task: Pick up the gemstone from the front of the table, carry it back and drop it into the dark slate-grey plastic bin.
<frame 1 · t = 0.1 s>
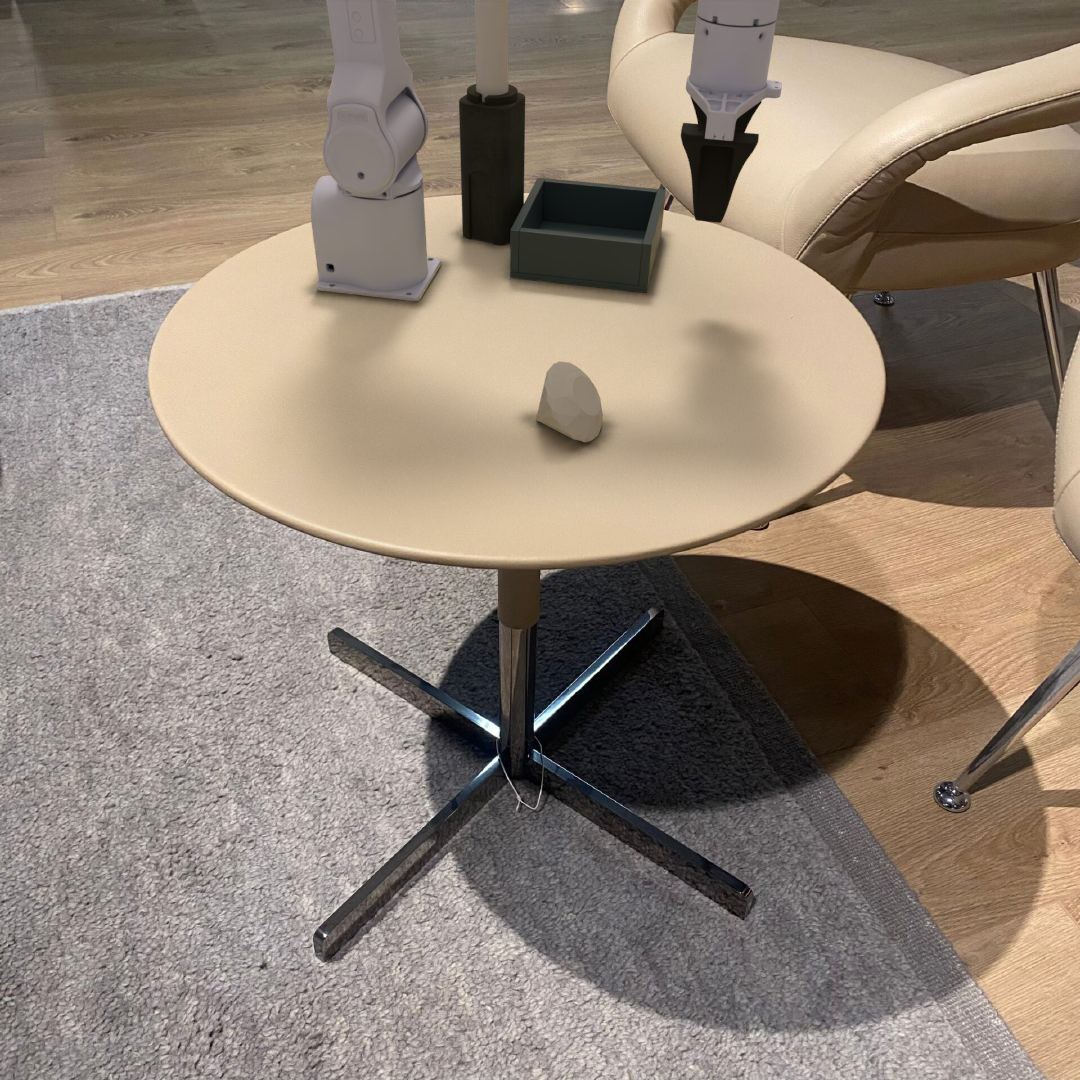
hand: (711, 200, 82), 10 cm above the table, tool pointing down, fingers open, 7 cm apart
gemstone: (568, 430, 75), on the table
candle: (493, 234, 101), on the table
bin: (588, 255, 97), on the table
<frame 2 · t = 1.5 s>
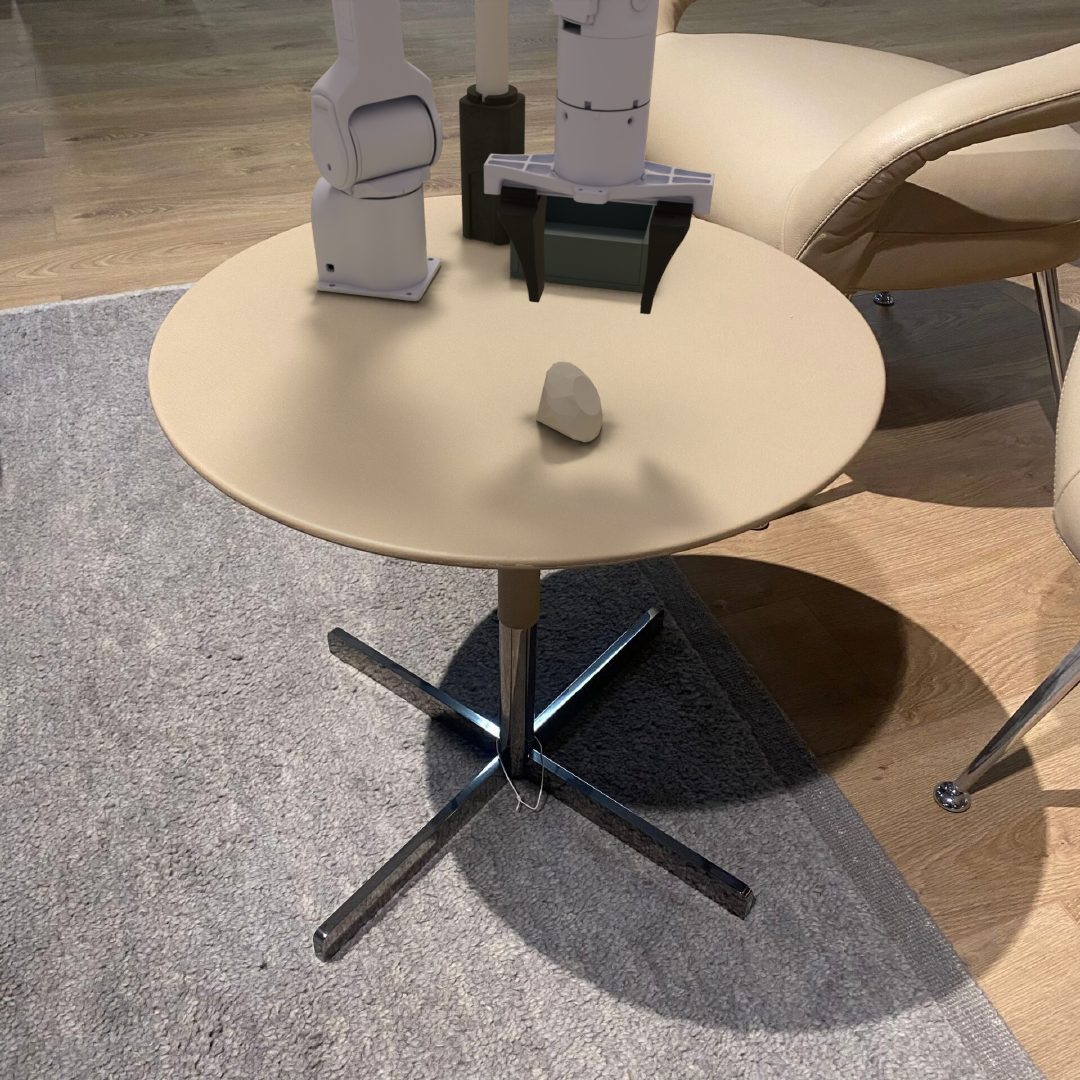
hand: (591, 301, 70), 9 cm above the table, tool pointing down, fingers open, 7 cm apart
nothing on the table moved.
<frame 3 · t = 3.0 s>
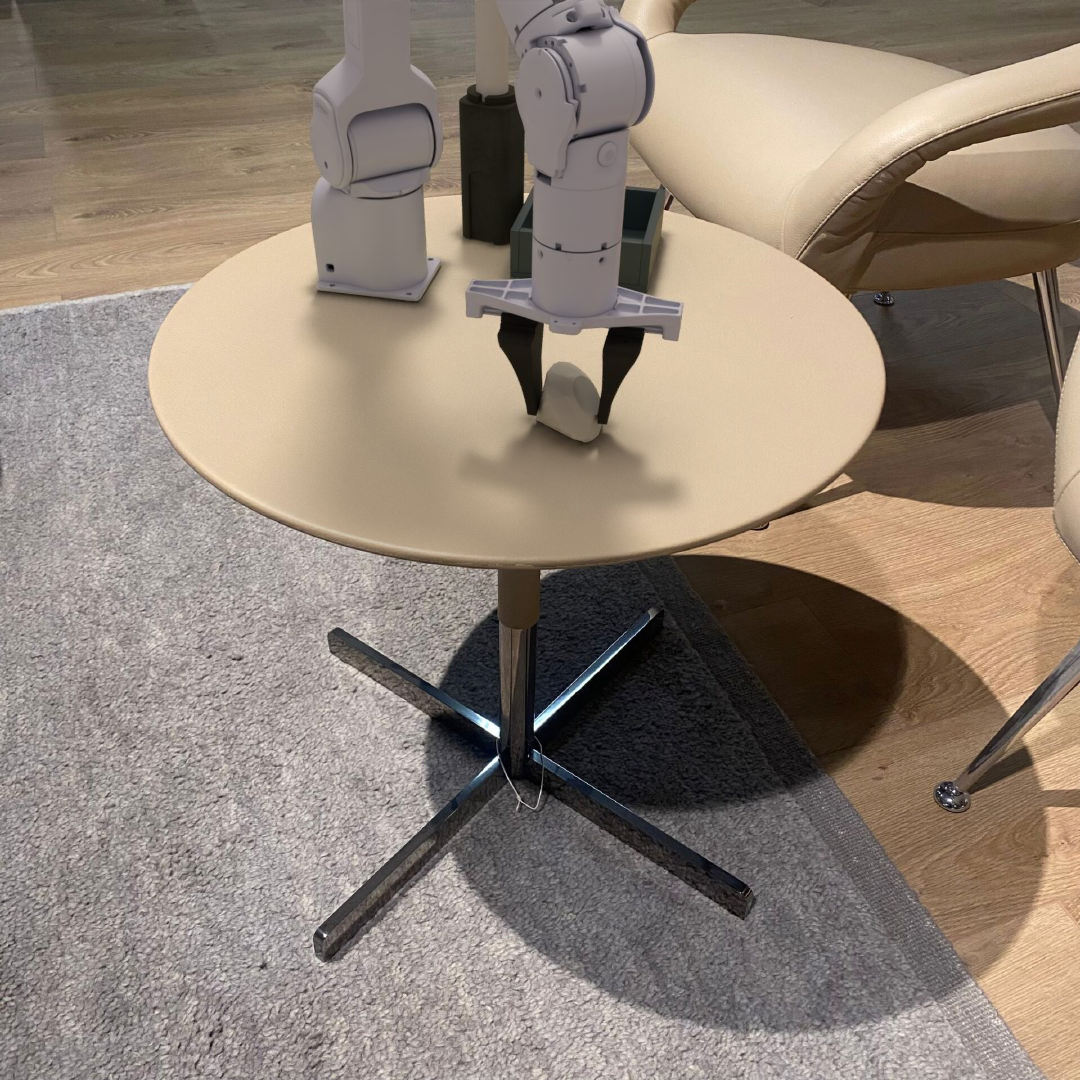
hand: (568, 412, 74), 1 cm above the table, tool pointing down, fingers closed on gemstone, 4 cm apart
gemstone: (568, 430, 75), on the table, touching gripper
everything else where it was.
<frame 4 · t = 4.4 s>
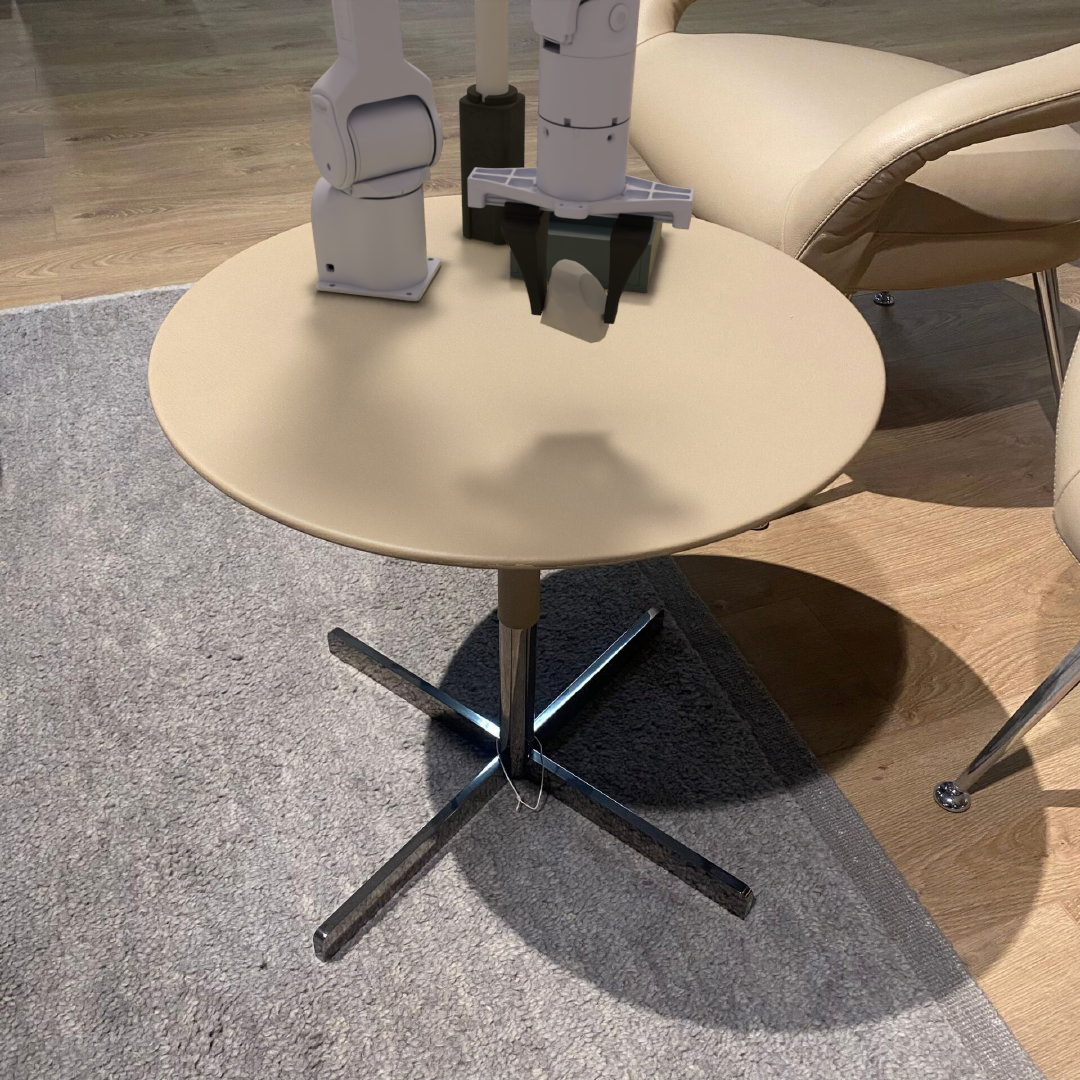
hand: (574, 312, 71), 8 cm above the table, tool pointing down, fingers closed on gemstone, 4 cm apart
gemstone: (573, 333, 72), point 7 cm above the table, touching gripper
everything else where it was.
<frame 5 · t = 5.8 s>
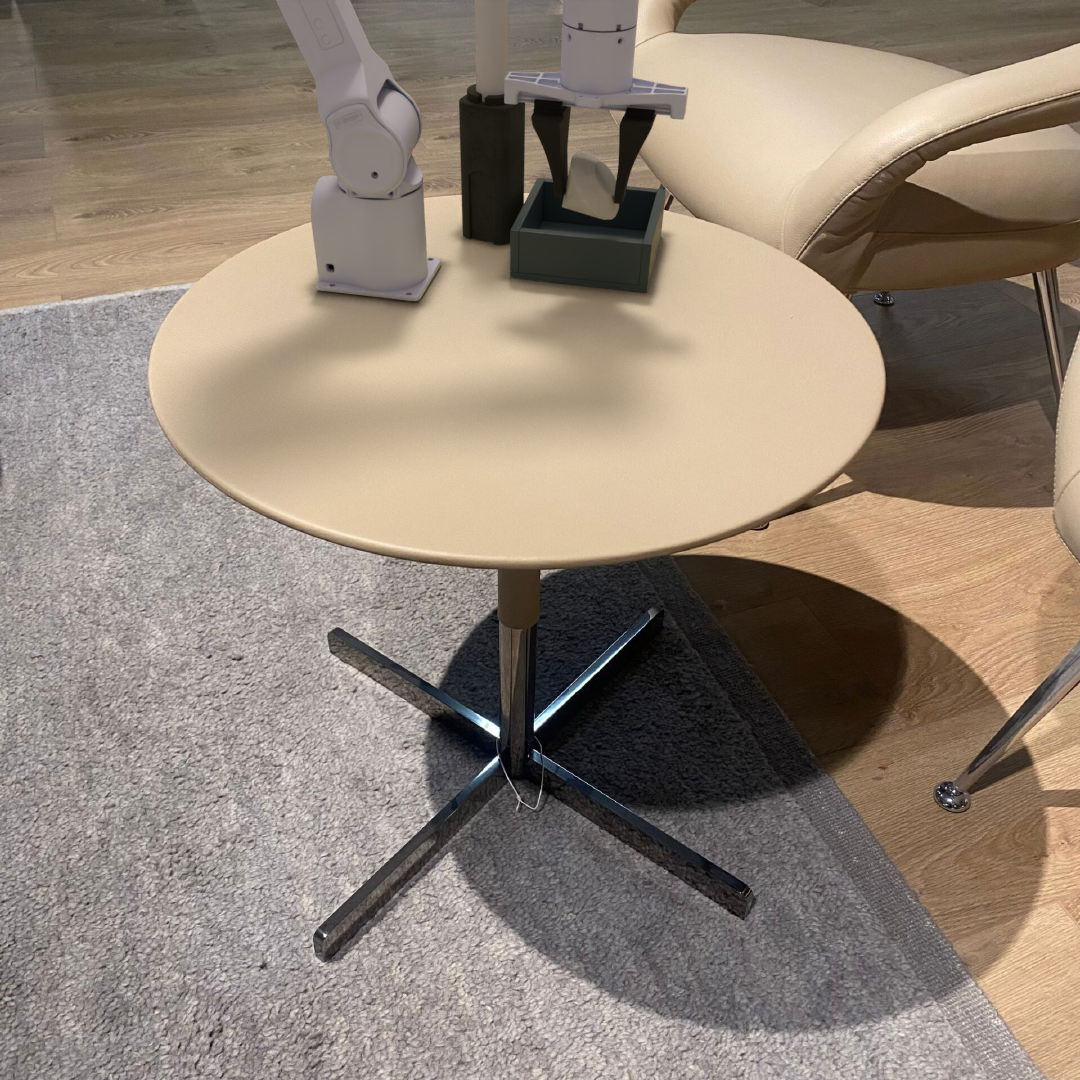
hand: (589, 196, 87), 8 cm above the table, tool pointing down, fingers closed on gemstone, 4 cm apart
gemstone: (589, 215, 88), point 7 cm above the table, touching gripper
everything else where it was.
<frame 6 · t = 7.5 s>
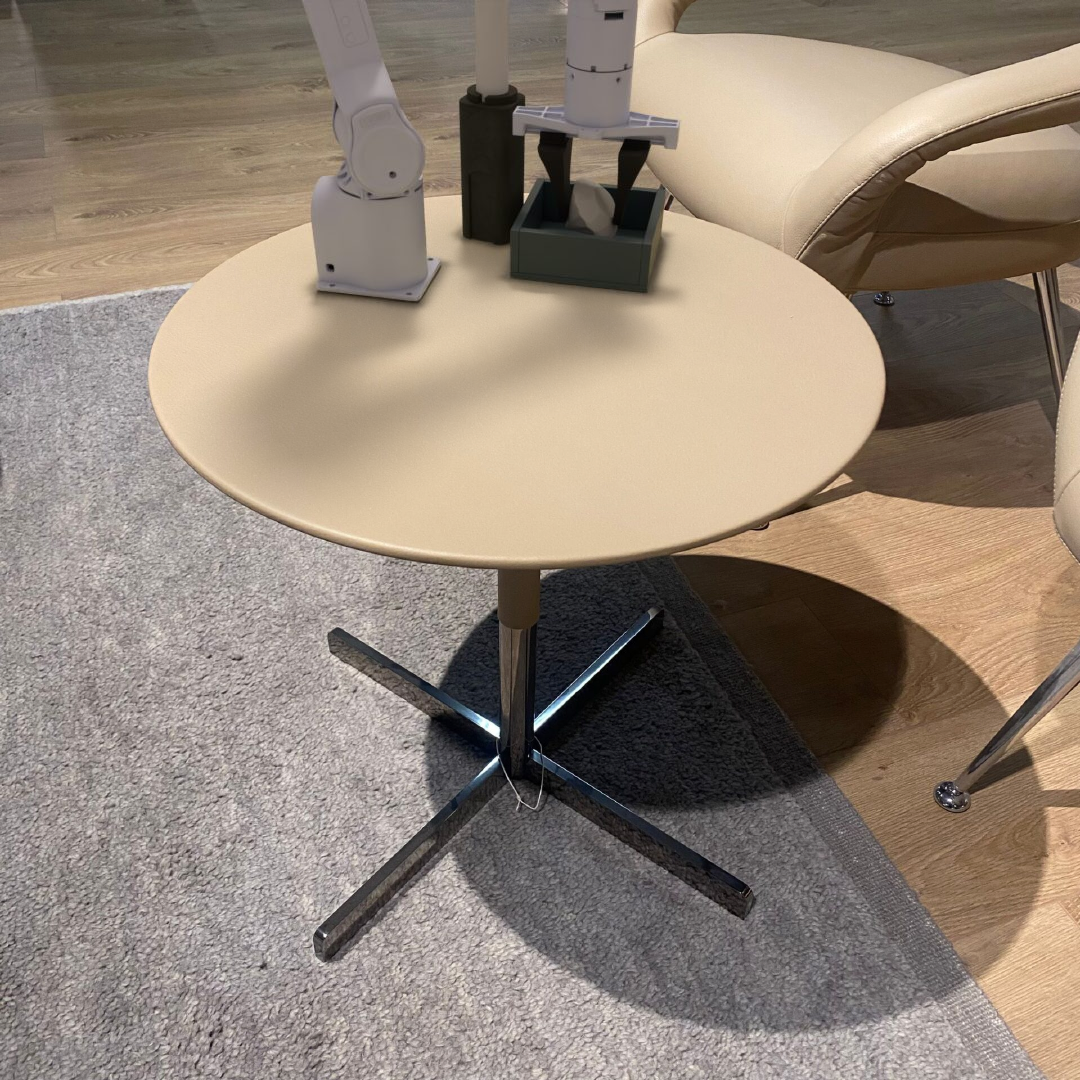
hand: (590, 218, 95), 4 cm above the table, tool pointing down, fingers closed on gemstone, 4 cm apart
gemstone: (590, 234, 96), point 2 cm above the table, touching gripper
everything else where it was.
when the fingers open (2 cm above the table, at t = 8.6 s): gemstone stays where it is, resting on bin.
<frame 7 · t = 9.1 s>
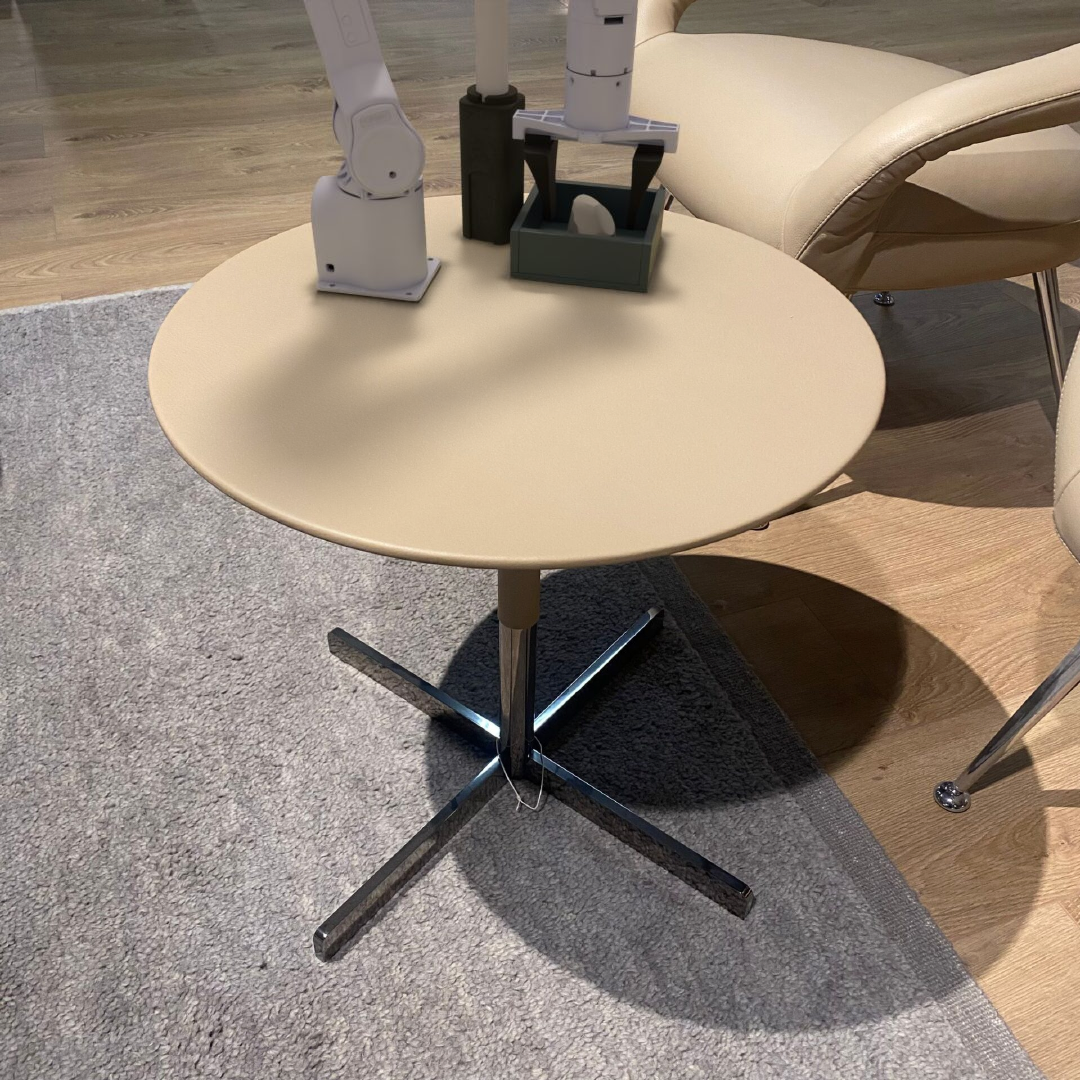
hand: (590, 221, 95), 3 cm above the table, tool pointing down, fingers open, 7 cm apart
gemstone: (589, 251, 97), resting on bin
everything else where it was.
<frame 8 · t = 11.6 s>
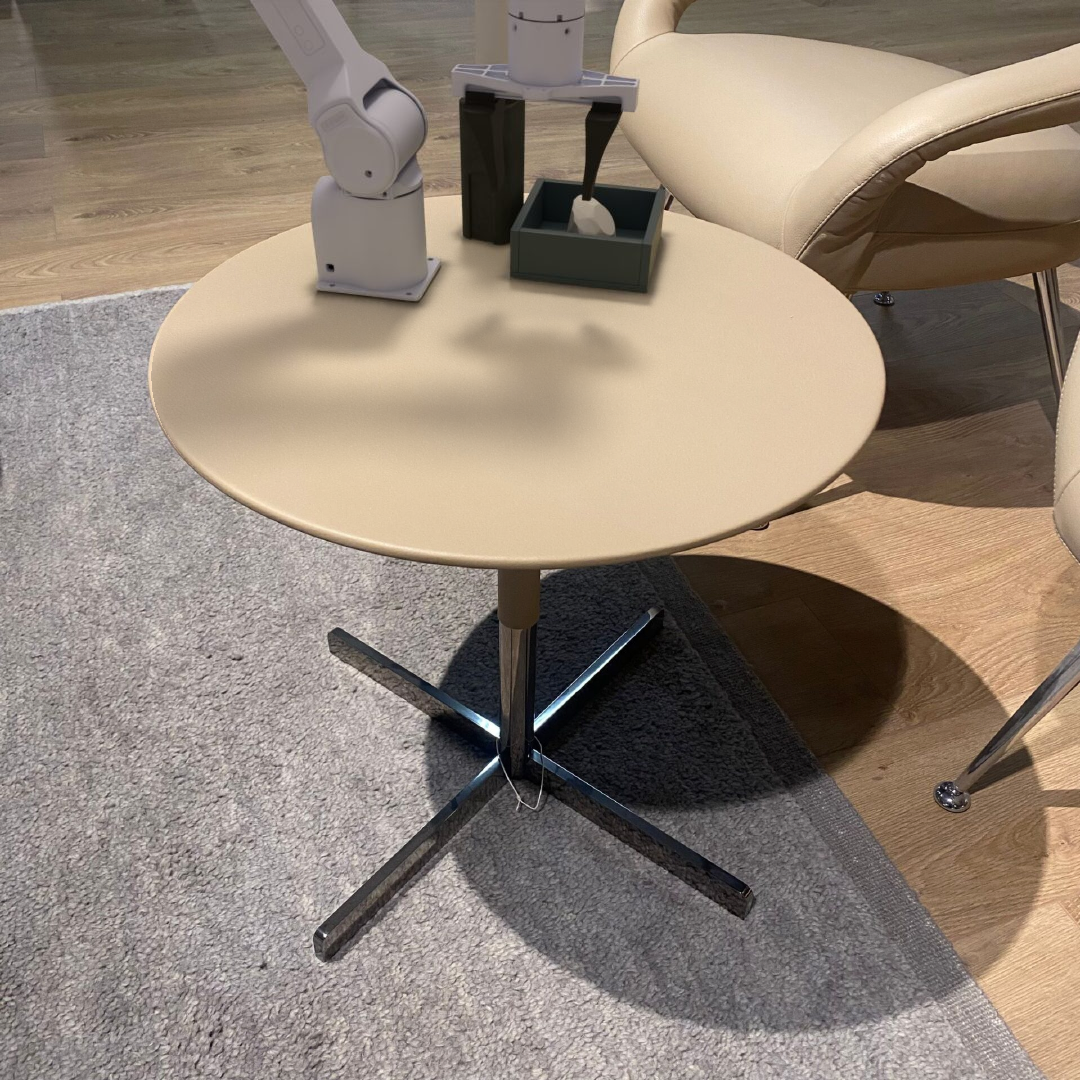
hand: (542, 192, 85), 9 cm above the table, tool pointing down, fingers open, 7 cm apart
nothing on the table moved.
at the end: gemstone inside the target area in the bin (0.1 cm from its centre), point 0.4 cm above the bin's base; the gripper is holding nothing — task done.
